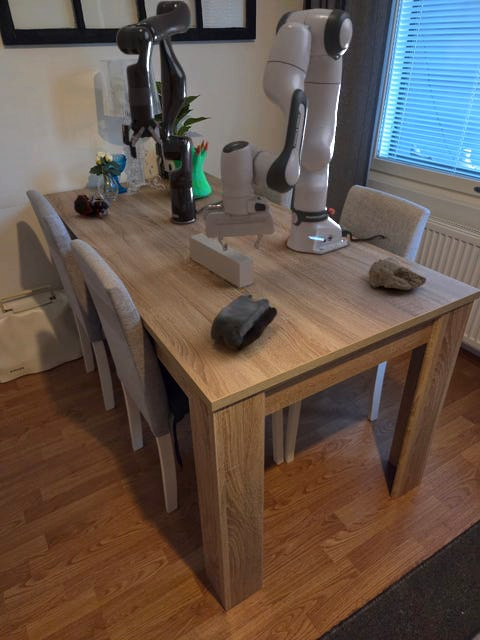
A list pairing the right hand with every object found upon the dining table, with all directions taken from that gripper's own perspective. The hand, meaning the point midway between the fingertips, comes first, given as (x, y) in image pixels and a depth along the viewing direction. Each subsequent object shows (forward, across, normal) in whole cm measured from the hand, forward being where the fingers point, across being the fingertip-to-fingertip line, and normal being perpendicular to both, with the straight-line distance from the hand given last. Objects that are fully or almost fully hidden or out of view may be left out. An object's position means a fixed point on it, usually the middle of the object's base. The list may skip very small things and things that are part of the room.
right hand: (240, 249), depth 133 cm
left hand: (-22, -29, +32) cm, 48 cm away
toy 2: (+9, -21, +93) cm, 96 cm away
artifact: (+13, +46, -3) cm, 47 cm away
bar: (+10, -7, +8) cm, 15 cm away
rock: (+10, -1, -31) cm, 32 cm away
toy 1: (+7, -61, +63) cm, 88 cm away
